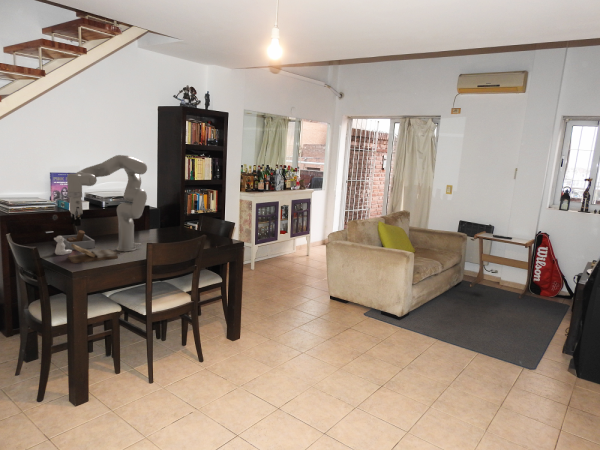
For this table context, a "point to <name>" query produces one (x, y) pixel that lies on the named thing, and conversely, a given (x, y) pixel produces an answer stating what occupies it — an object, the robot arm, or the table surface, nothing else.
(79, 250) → the oak plank
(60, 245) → the sitting furry creature
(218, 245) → the table surface
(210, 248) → the table surface
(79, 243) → the block crate
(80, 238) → the wooden block set
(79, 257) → the floor board
